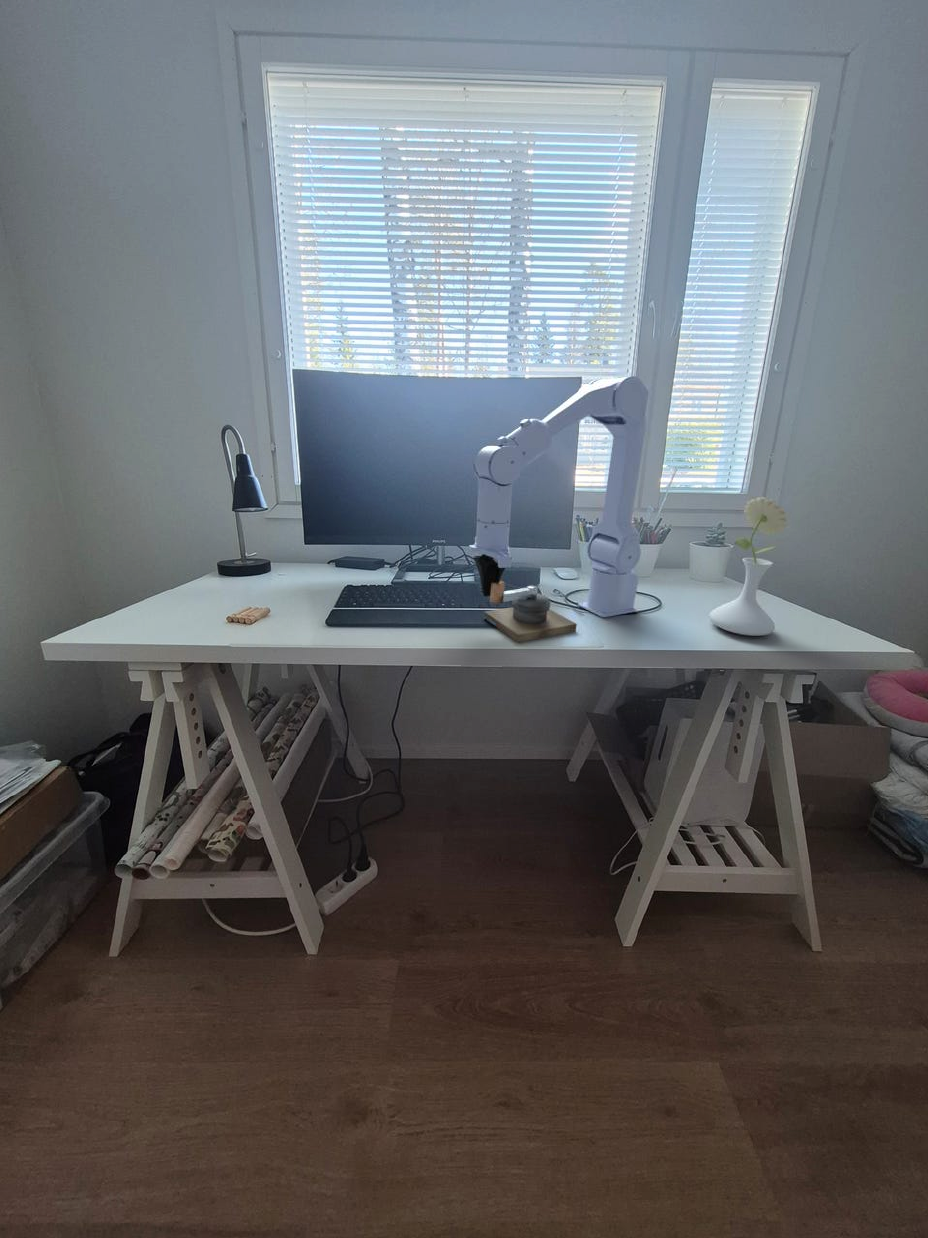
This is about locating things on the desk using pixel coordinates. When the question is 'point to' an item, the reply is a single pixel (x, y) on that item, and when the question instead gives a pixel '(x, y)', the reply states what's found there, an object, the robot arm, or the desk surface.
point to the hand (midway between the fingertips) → (488, 595)
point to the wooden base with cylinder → (530, 619)
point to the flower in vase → (752, 575)
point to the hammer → (510, 592)
